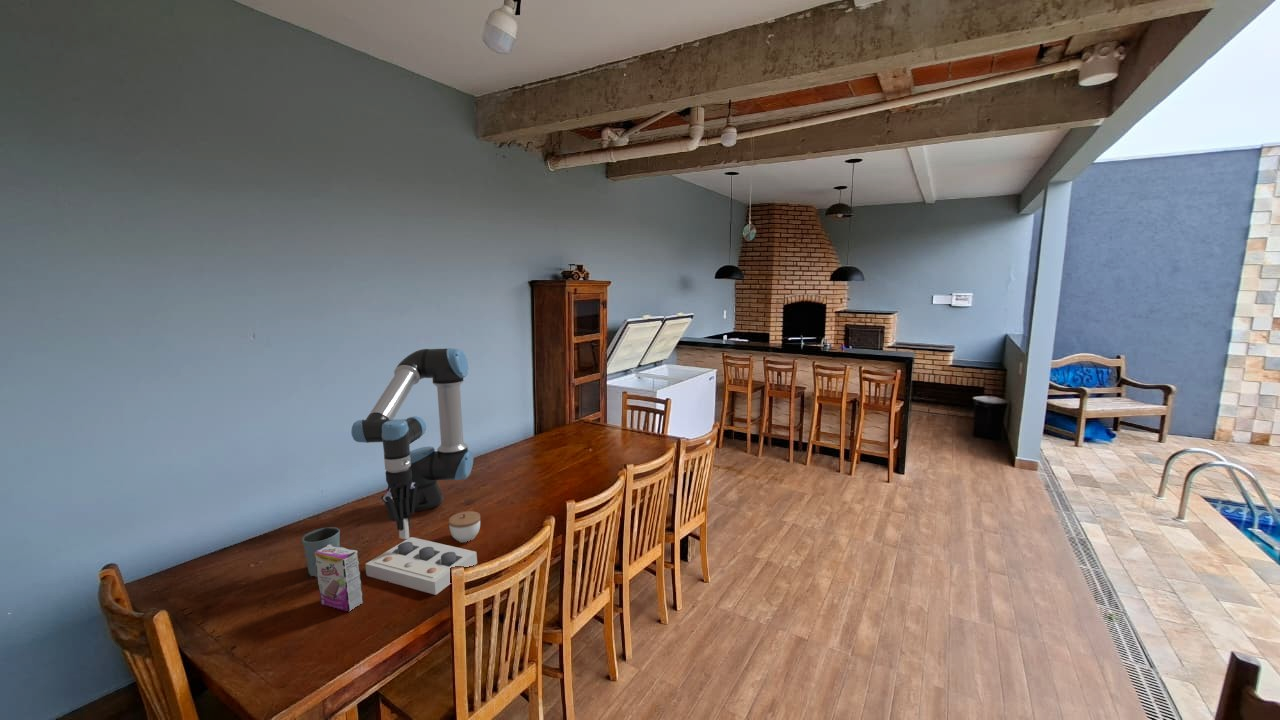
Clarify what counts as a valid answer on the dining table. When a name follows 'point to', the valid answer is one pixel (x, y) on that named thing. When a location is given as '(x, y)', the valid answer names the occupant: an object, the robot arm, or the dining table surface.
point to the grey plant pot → (319, 544)
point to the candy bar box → (339, 577)
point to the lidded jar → (464, 525)
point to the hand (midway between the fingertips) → (404, 537)
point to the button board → (418, 566)
